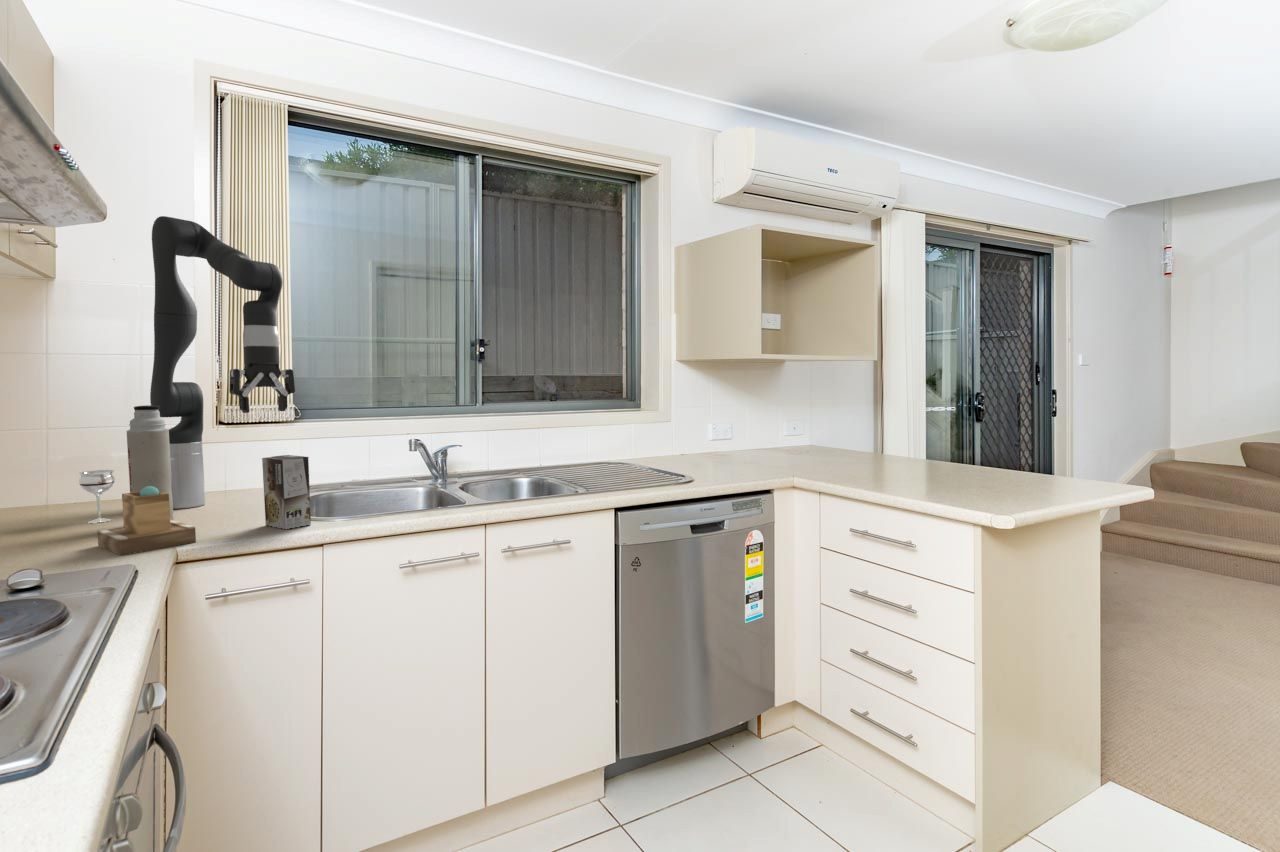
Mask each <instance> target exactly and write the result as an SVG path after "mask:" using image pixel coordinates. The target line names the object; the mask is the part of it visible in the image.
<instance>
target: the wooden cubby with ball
mask: <svg viewBox="0 0 1280 852" xmlns="http://www.w3.org/2000/svg"><path fill="white" fill-rule="evenodd" d="M121 500H122V517H123V528H124V530H127V531H129V532H132V533H135V534H138V535H140V534H147V533H153V532H159V531H165V530H171V527H170V508H169V494H167V493H163V492H159V494H158V495H150V496H142V497H140V492H133V493H130V492H127V493H126V492H125V493H121Z"/></svg>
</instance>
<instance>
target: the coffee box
mask: <svg viewBox="0 0 1280 852" xmlns="http://www.w3.org/2000/svg"><path fill="white" fill-rule="evenodd" d="M261 461H262V480H263V482H262V484H263V499H264V517H265V526H266V525H268V526H267V527H271V526H272V528H276V527H277V528H276V529H281V528H282V530H291V529H290V528H292V529H296V528H295V527H297V528H301V527H300V526H303V527H307V526H306V525H309V526H311V525H312V522H311V520H312V519H311V518H312V517H311V495H310V492H311V491H310V489H311V488H310V465H309V456H304V455H303V456H302V455H292V454H291V455H289V454H285V455H284V454H283V455H275V456H269V457H261Z"/></svg>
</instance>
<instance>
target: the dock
mask: <svg viewBox="0 0 1280 852" xmlns="http://www.w3.org/2000/svg"><path fill="white" fill-rule="evenodd" d="M170 527H171V530H165V531H159V532H153V533H147V534H140V535H138V534H135V533H132V532H129V531H127V530H124V527H119V528H112V529H105V528H102V529H97V530H96V531H97V545H98V547H100V546H101V547H100V548H102V547H103V549H104V548H105V550H107V551H109V550H110V552H112V551H113V553H114V552H115V554H116V553H117V555H119V554H120V555H119V556H125V555H124V554H127V555H130V554H129V553H133V554H135V553H134V552H138V553H141V552H140V551H144V552H147V551H148V550H149V551H154V549H155V550H159V549H160V548H161V549H165V547H166V548H171V547H172V548H173V547H177V546H182V545H181V544H183V545H188V544H187V543H189V544H193V543H192V542H194V543H196V542H197V537H196V534H197V533H196V526H194V525H191V524H187V523H184V522H181V521H177V520H175V519H174V520H171V519H170ZM176 545H177V546H176Z"/></svg>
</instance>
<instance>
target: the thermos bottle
mask: <svg viewBox="0 0 1280 852" xmlns="http://www.w3.org/2000/svg"><path fill="white" fill-rule="evenodd" d="M159 409H160V406H152V405H151V404H150V405H137V406H133V410H134V412H133V418H132V419H131V420H130V421H129V424H128V425H129V429H128V430H126V444H127V447H126V448H127V461H128V463H127V465H128V479H129V480H128V483H129V493H133V492H141V490H142V489H143V488H144V487H147V486H153V487H155V488H157V489H158V491H159V492H163V493H167V494H169V508H170V519H171V520H174V521H175V519H174V509H173V500H172V490H171V463H170V444H169V429H170V428H169V429H168V428H166V421H165V419H163V417H160V412H159Z"/></svg>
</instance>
